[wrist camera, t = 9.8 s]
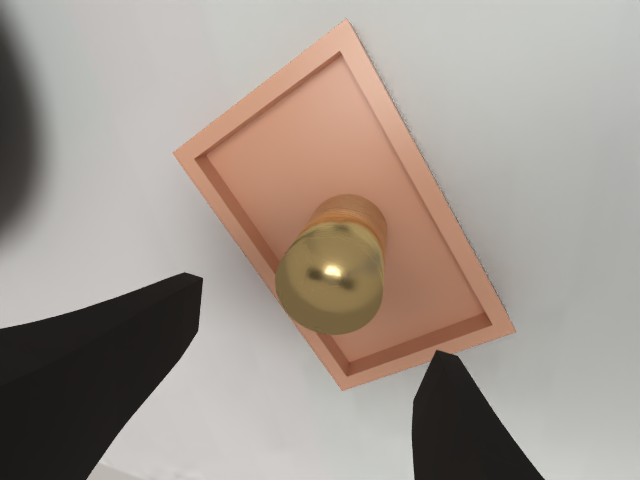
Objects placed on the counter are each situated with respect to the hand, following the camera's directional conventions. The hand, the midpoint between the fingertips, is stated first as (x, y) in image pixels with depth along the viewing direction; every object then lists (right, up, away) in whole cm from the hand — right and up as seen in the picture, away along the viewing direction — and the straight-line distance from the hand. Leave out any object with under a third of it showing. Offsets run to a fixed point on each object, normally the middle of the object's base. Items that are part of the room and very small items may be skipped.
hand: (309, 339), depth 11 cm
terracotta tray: (+2, +3, +8) cm, 9 cm away
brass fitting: (+2, +3, +8) cm, 9 cm away
